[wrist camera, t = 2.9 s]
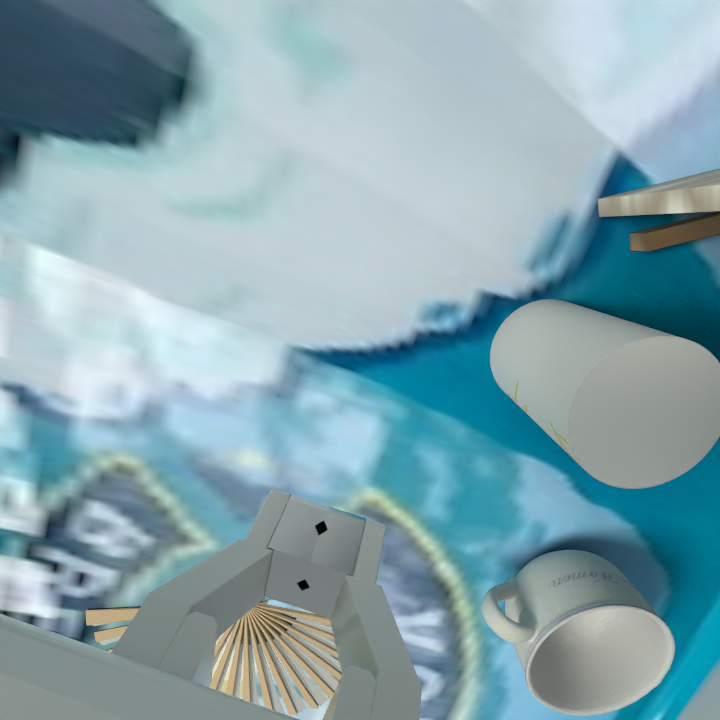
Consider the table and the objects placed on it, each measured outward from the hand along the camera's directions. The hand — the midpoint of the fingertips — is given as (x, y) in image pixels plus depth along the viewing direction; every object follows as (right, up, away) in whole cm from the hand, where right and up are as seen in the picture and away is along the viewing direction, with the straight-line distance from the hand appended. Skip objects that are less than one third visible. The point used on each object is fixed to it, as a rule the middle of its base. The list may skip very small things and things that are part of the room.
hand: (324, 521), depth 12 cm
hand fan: (-10, -22, +30) cm, 38 cm away
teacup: (+16, -15, +28) cm, 36 cm away
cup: (+15, +5, +23) cm, 27 cm away
